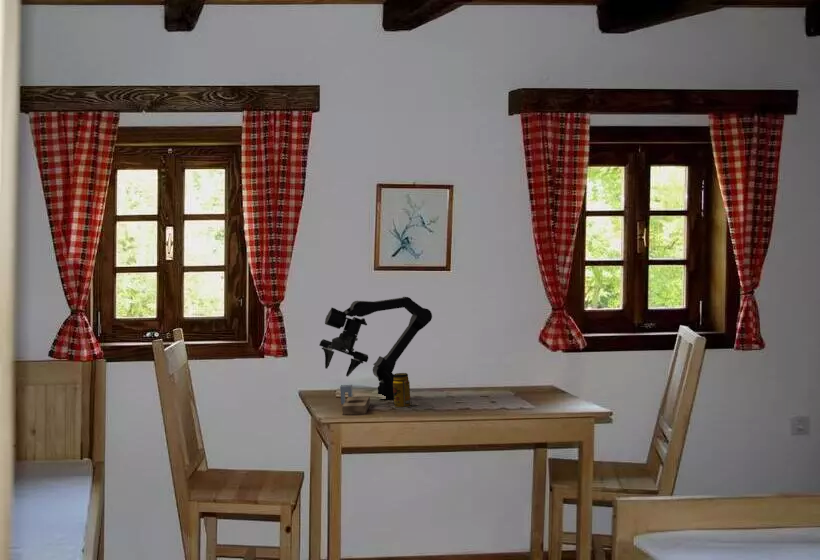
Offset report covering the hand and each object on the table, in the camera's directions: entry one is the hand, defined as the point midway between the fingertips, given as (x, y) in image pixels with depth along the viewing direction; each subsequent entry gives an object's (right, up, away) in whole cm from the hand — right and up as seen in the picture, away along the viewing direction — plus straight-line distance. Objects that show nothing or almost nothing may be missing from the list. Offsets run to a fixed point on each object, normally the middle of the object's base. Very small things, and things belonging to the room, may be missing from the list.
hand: (336, 372), depth 393 cm
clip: (+4, -11, 0) cm, 12 cm away
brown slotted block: (+8, -12, -14) cm, 21 cm away
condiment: (+25, -11, -12) cm, 30 cm away
